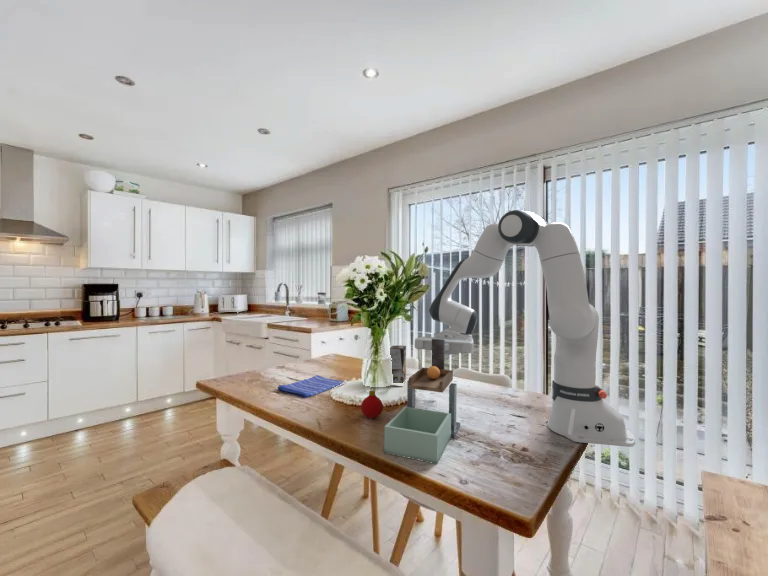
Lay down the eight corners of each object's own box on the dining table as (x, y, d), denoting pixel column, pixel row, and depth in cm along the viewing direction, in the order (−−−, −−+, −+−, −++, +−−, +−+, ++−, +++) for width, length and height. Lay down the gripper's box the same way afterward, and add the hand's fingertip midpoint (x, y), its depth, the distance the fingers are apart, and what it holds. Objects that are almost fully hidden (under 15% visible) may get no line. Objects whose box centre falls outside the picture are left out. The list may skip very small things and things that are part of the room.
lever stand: (460, 426, 109) (460, 381, 109) (454, 438, 101) (454, 389, 101) (411, 418, 115) (411, 375, 115) (401, 429, 107) (402, 383, 107)
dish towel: (275, 392, 144) (275, 385, 144) (317, 379, 163) (317, 372, 163) (305, 400, 134) (305, 392, 134) (345, 385, 154) (345, 378, 154)
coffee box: (403, 387, 150) (403, 349, 150) (388, 386, 151) (388, 348, 151) (406, 381, 159) (406, 345, 159) (392, 380, 160) (392, 344, 160)
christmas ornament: (373, 423, 111) (373, 392, 111) (356, 418, 115) (356, 387, 115) (387, 417, 117) (387, 387, 116) (370, 412, 121) (371, 383, 121)
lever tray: (453, 379, 114) (453, 340, 113) (442, 392, 100) (442, 348, 99) (423, 375, 117) (423, 338, 117) (408, 388, 103) (409, 345, 103)
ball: (441, 378, 111) (441, 365, 111) (438, 381, 107) (438, 368, 107) (428, 376, 112) (429, 364, 112) (425, 379, 109) (425, 366, 109)
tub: (450, 437, 101) (451, 413, 101) (437, 464, 87) (437, 435, 86) (404, 429, 107) (405, 406, 107) (384, 453, 92) (384, 426, 92)
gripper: (420, 331, 132) (408, 336, 120) (476, 335, 124) (470, 340, 112) (420, 348, 132) (408, 355, 120) (476, 352, 124) (469, 360, 112)
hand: (438, 348), depth 116 cm, fingers closed
